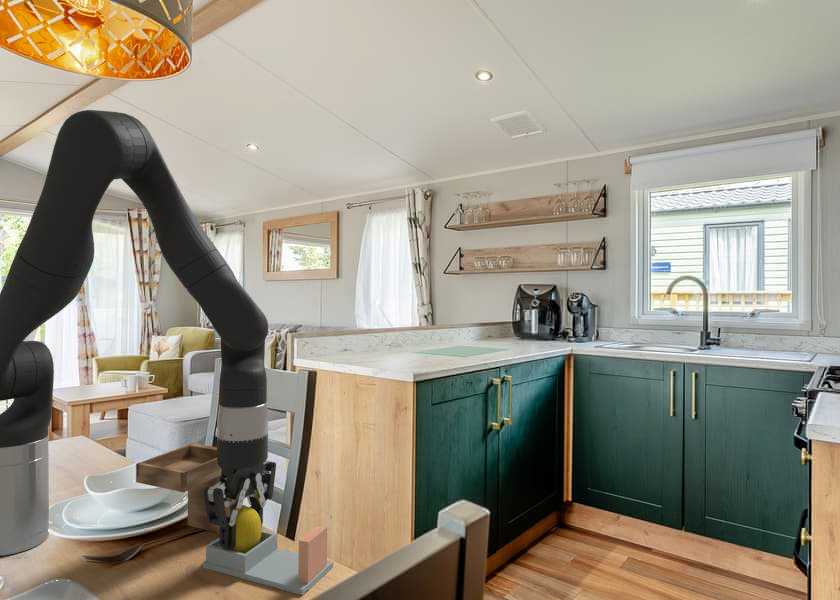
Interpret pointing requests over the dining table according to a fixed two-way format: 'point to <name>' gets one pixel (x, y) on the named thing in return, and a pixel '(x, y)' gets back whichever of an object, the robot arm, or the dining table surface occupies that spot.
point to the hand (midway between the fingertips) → (242, 538)
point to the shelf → (185, 478)
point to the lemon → (247, 529)
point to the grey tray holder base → (275, 561)
